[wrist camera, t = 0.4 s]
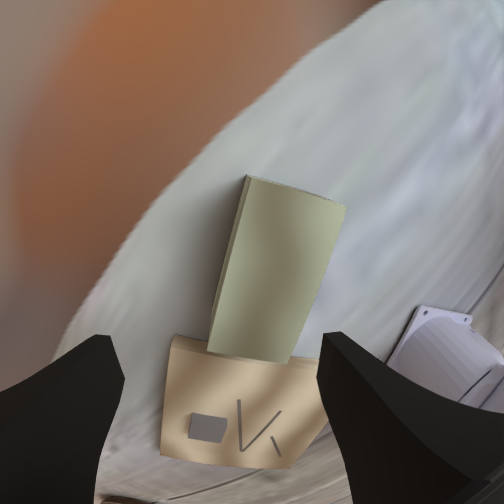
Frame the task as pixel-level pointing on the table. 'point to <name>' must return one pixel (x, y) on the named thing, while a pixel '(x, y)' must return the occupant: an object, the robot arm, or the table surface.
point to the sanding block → (272, 270)
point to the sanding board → (240, 407)
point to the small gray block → (207, 428)
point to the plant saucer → (123, 501)
